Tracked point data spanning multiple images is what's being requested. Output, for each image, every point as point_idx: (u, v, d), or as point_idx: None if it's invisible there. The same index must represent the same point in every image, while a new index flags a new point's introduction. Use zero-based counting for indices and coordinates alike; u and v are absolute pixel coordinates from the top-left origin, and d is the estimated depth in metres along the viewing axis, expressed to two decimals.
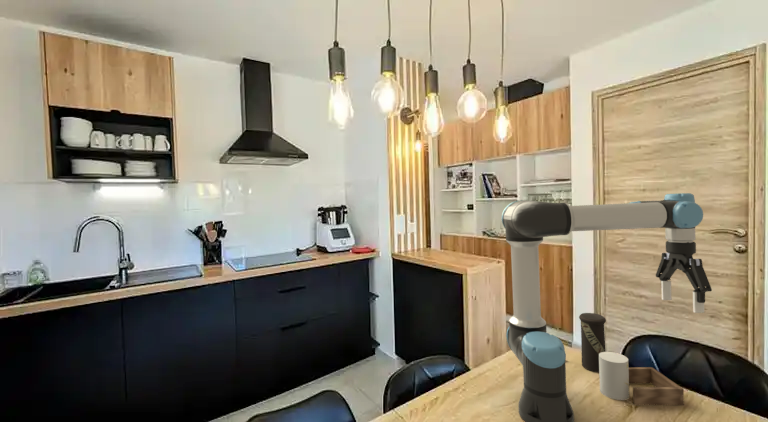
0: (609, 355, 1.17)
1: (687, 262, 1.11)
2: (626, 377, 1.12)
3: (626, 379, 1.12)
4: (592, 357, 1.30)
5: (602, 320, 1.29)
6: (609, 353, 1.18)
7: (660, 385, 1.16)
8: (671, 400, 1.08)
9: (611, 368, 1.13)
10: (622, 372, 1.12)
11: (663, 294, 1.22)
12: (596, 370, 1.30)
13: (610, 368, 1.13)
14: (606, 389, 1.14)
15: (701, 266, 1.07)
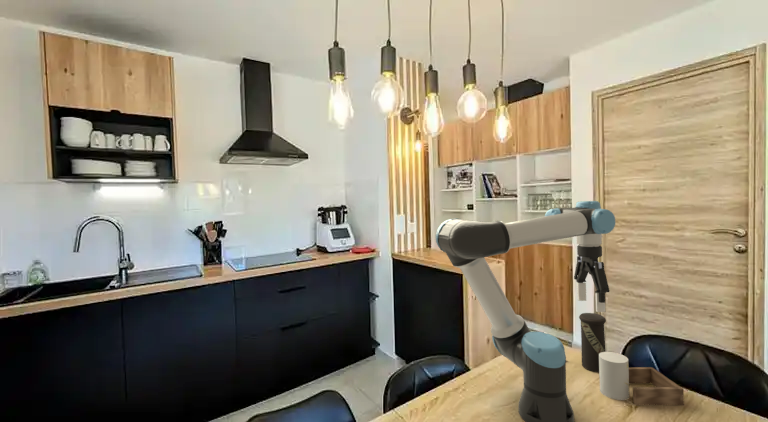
0: (609, 355, 1.17)
1: (592, 265, 1.20)
2: (626, 377, 1.12)
3: (626, 379, 1.12)
4: (592, 357, 1.30)
5: (602, 320, 1.29)
6: (609, 353, 1.18)
7: (660, 385, 1.16)
8: (671, 400, 1.08)
9: (611, 368, 1.13)
10: (622, 372, 1.12)
11: (579, 295, 1.31)
12: (596, 370, 1.30)
13: (610, 368, 1.13)
14: (606, 389, 1.14)
15: (603, 269, 1.17)
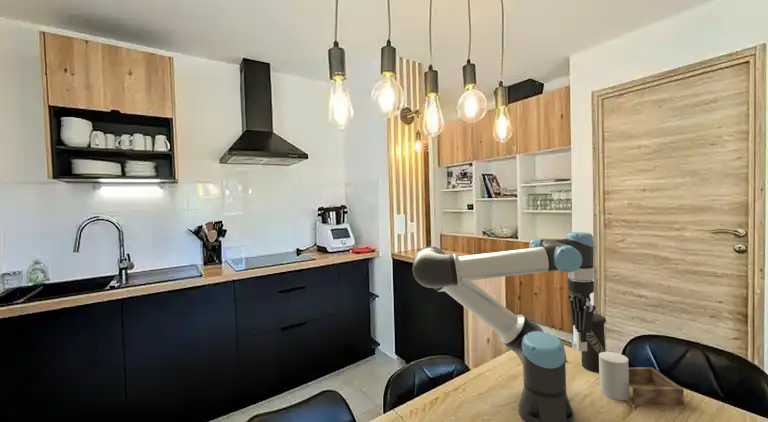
0: (609, 355, 1.17)
1: (583, 302, 1.13)
2: (626, 377, 1.12)
3: (626, 379, 1.12)
4: (592, 357, 1.30)
5: (602, 320, 1.29)
6: (609, 353, 1.18)
7: (660, 385, 1.16)
8: (671, 400, 1.08)
9: (611, 368, 1.13)
10: (622, 372, 1.12)
11: (578, 344, 1.17)
12: (596, 370, 1.30)
13: (610, 368, 1.13)
14: (606, 389, 1.14)
15: (592, 312, 1.11)
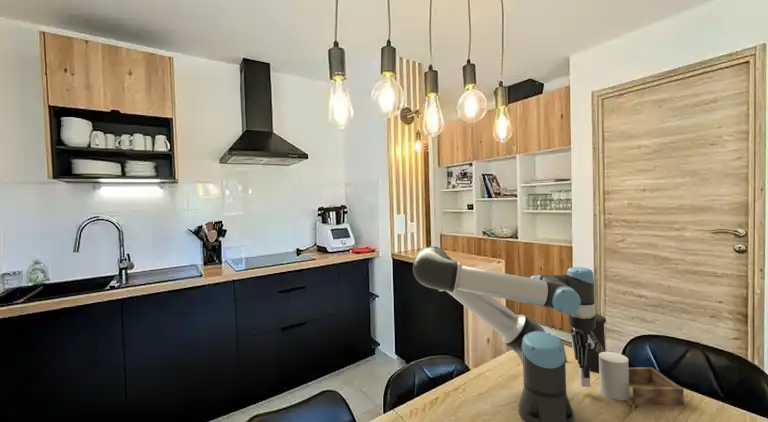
0: (609, 355, 1.17)
1: (585, 339, 1.13)
2: (626, 377, 1.12)
3: (626, 379, 1.12)
4: None
5: (602, 320, 1.29)
6: (609, 353, 1.18)
7: (660, 385, 1.16)
8: (671, 400, 1.08)
9: (611, 368, 1.13)
10: (622, 372, 1.12)
11: None
12: (596, 370, 1.30)
13: (610, 368, 1.13)
14: (606, 389, 1.14)
15: (594, 349, 1.11)
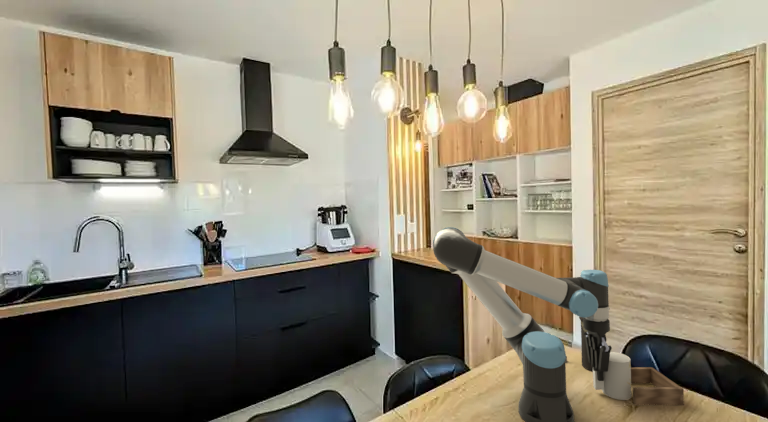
0: (611, 355, 1.17)
1: (599, 342, 1.13)
2: (628, 377, 1.12)
3: (628, 379, 1.12)
4: None
5: None
6: (611, 353, 1.18)
7: (660, 385, 1.16)
8: (671, 400, 1.08)
9: (613, 367, 1.13)
10: (625, 372, 1.12)
11: (594, 382, 1.17)
12: None
13: (612, 368, 1.13)
14: (608, 389, 1.14)
15: (608, 352, 1.11)
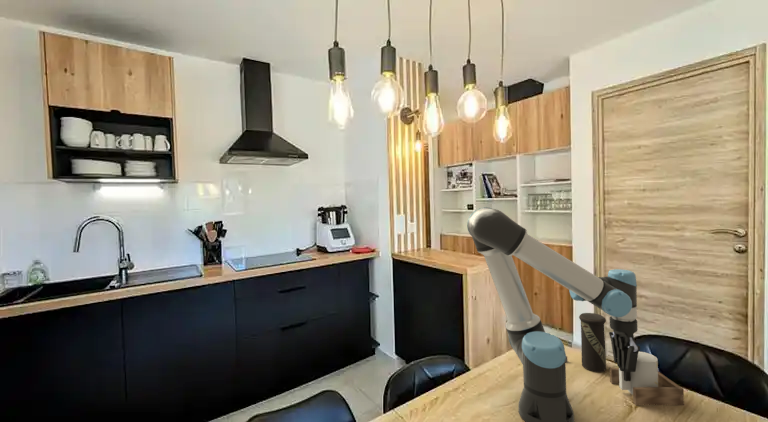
0: (638, 355, 1.16)
1: (627, 342, 1.12)
2: (656, 376, 1.12)
3: (656, 378, 1.12)
4: (592, 357, 1.30)
5: (602, 320, 1.29)
6: None
7: (660, 385, 1.16)
8: (671, 400, 1.08)
9: (640, 367, 1.12)
10: (652, 371, 1.11)
11: (621, 382, 1.16)
12: (596, 370, 1.30)
13: (640, 368, 1.12)
14: None
15: (637, 352, 1.10)
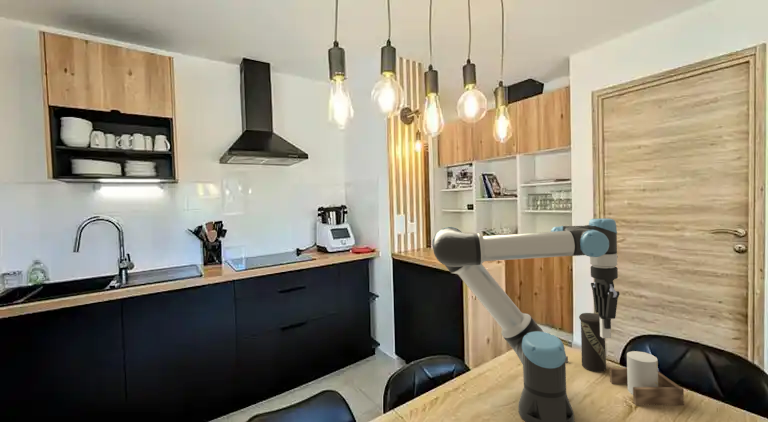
0: (638, 355, 1.16)
1: (607, 288, 1.12)
2: (656, 377, 1.12)
3: (656, 379, 1.12)
4: (592, 357, 1.30)
5: None
6: (637, 353, 1.18)
7: (660, 385, 1.16)
8: (671, 400, 1.08)
9: (640, 367, 1.12)
10: (652, 371, 1.11)
11: (601, 331, 1.16)
12: (596, 370, 1.30)
13: (640, 368, 1.12)
14: None
15: (616, 298, 1.10)
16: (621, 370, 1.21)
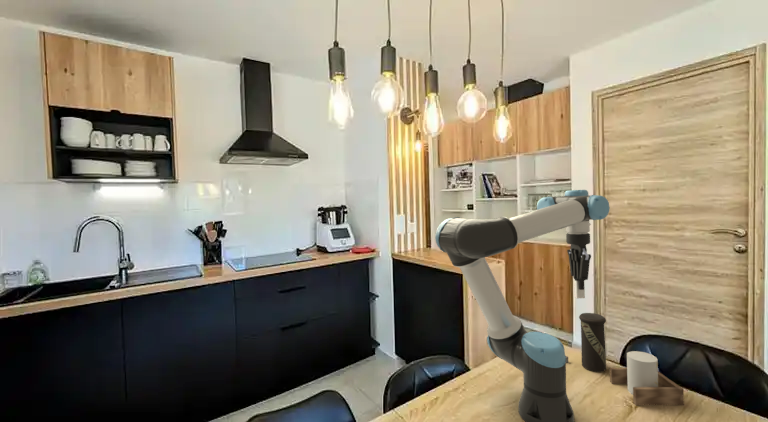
0: (638, 355, 1.16)
1: (580, 252, 1.24)
2: (656, 376, 1.12)
3: (656, 378, 1.12)
4: (592, 357, 1.30)
5: (602, 320, 1.29)
6: (637, 353, 1.18)
7: (660, 385, 1.16)
8: (671, 400, 1.08)
9: (640, 367, 1.12)
10: (652, 371, 1.11)
11: (576, 292, 1.28)
12: (596, 370, 1.30)
13: (640, 368, 1.12)
14: None
15: (588, 260, 1.22)
16: (621, 370, 1.21)
